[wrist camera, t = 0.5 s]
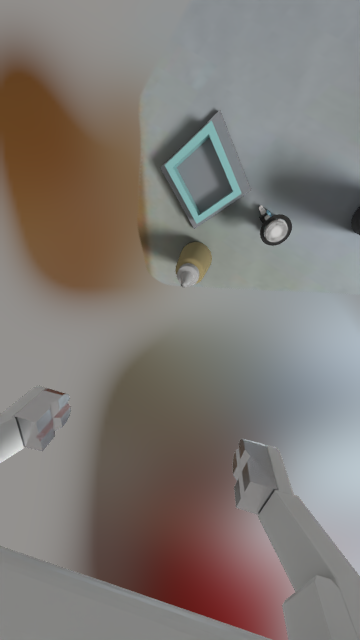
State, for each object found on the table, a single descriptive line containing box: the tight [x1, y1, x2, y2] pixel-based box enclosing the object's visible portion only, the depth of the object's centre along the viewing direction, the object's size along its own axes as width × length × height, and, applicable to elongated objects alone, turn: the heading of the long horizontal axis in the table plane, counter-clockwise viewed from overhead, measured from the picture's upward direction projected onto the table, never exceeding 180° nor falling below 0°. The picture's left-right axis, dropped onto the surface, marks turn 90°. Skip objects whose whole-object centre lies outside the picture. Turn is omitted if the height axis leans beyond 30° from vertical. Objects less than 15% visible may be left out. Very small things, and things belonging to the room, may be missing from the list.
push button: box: [259, 205, 292, 245], centre depth 38 cm, size 7×5×10 cm
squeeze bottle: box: [176, 242, 212, 287], centre depth 43 cm, size 8×8×18 cm
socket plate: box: [160, 110, 251, 229], centre depth 39 cm, size 14×14×4 cm
